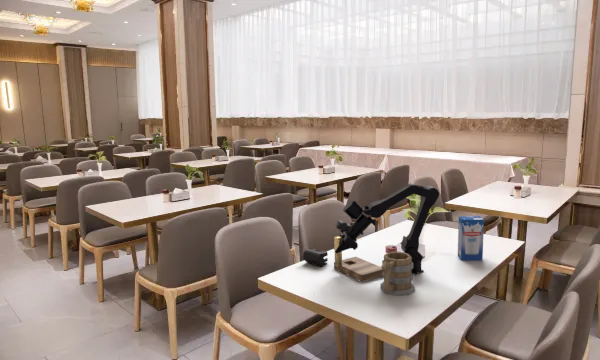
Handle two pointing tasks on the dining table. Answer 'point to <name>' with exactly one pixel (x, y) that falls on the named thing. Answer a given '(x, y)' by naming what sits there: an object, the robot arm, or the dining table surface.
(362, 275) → the hole block
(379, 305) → the dining table surface
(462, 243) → the milk carton
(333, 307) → the dining table surface
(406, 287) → the tankard
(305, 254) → the end cap
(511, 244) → the dining table surface
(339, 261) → the peg
